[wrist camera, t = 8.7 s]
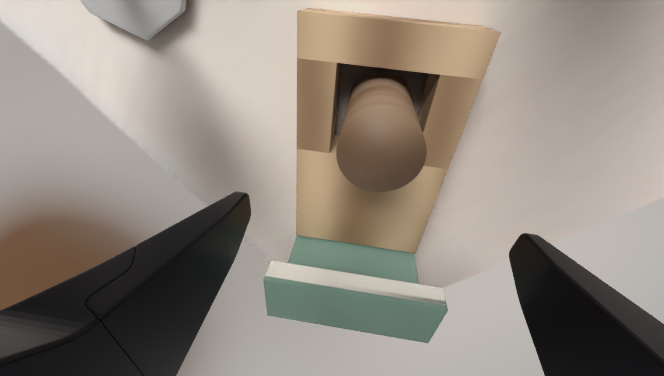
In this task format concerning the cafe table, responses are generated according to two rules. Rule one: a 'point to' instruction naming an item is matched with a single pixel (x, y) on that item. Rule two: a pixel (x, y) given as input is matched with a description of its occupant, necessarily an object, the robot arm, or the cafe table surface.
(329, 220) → the socket block
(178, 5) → the wineglass
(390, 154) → the walnut peg
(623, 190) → the cafe table surface
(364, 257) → the teal l-shaped bracket
